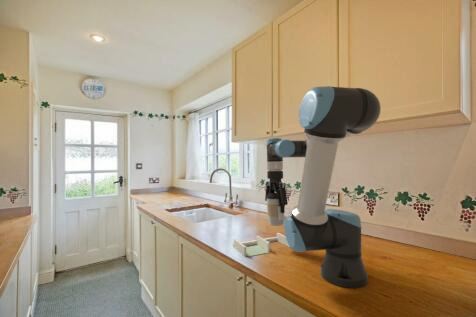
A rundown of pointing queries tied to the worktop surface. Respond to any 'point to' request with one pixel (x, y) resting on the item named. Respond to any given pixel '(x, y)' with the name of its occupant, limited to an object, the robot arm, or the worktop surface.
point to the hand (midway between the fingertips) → (276, 217)
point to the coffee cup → (273, 210)
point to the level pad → (255, 250)
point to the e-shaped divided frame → (259, 243)
